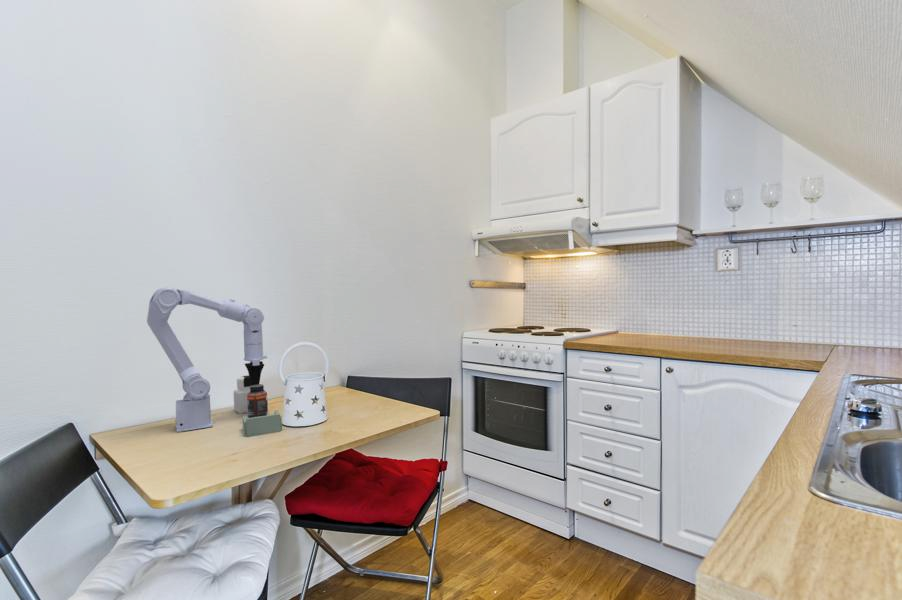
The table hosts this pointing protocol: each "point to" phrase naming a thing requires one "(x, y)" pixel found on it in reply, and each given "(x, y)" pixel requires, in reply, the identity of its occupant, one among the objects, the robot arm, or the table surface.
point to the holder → (262, 424)
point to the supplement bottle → (257, 401)
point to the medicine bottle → (242, 394)
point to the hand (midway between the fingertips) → (255, 384)
